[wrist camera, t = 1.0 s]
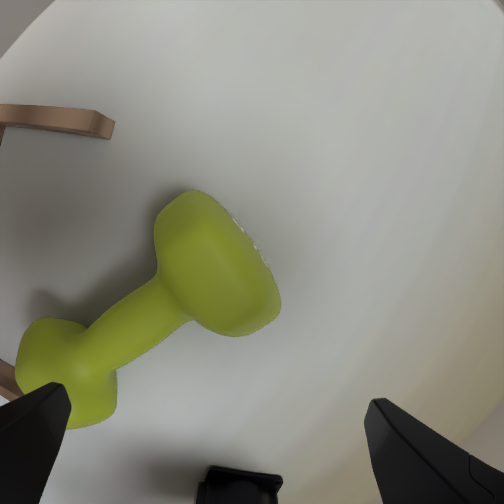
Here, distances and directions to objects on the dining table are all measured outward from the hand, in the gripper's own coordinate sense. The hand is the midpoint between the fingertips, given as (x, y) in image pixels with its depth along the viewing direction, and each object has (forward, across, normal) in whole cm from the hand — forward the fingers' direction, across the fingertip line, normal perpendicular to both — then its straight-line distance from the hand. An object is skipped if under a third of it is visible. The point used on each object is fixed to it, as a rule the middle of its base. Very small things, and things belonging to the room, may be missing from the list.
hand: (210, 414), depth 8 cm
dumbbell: (+12, +5, +3) cm, 14 cm away
